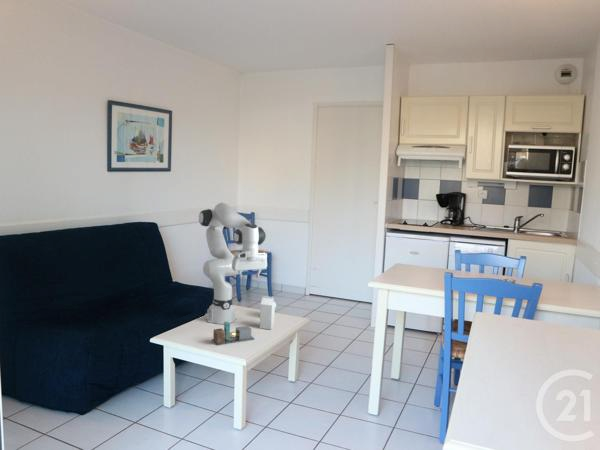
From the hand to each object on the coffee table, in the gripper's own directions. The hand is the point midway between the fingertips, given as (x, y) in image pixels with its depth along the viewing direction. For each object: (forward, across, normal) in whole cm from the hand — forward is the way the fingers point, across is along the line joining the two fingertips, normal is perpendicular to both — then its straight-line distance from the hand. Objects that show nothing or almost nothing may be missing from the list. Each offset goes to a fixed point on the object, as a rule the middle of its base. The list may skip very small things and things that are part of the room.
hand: (249, 277), depth 268 cm
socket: (+34, +18, +2) cm, 38 cm away
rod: (+33, +10, +2) cm, 35 cm away
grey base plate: (+34, +10, +2) cm, 36 cm away
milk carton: (+34, -17, -10) cm, 40 cm away
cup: (+34, -26, -27) cm, 51 cm away
